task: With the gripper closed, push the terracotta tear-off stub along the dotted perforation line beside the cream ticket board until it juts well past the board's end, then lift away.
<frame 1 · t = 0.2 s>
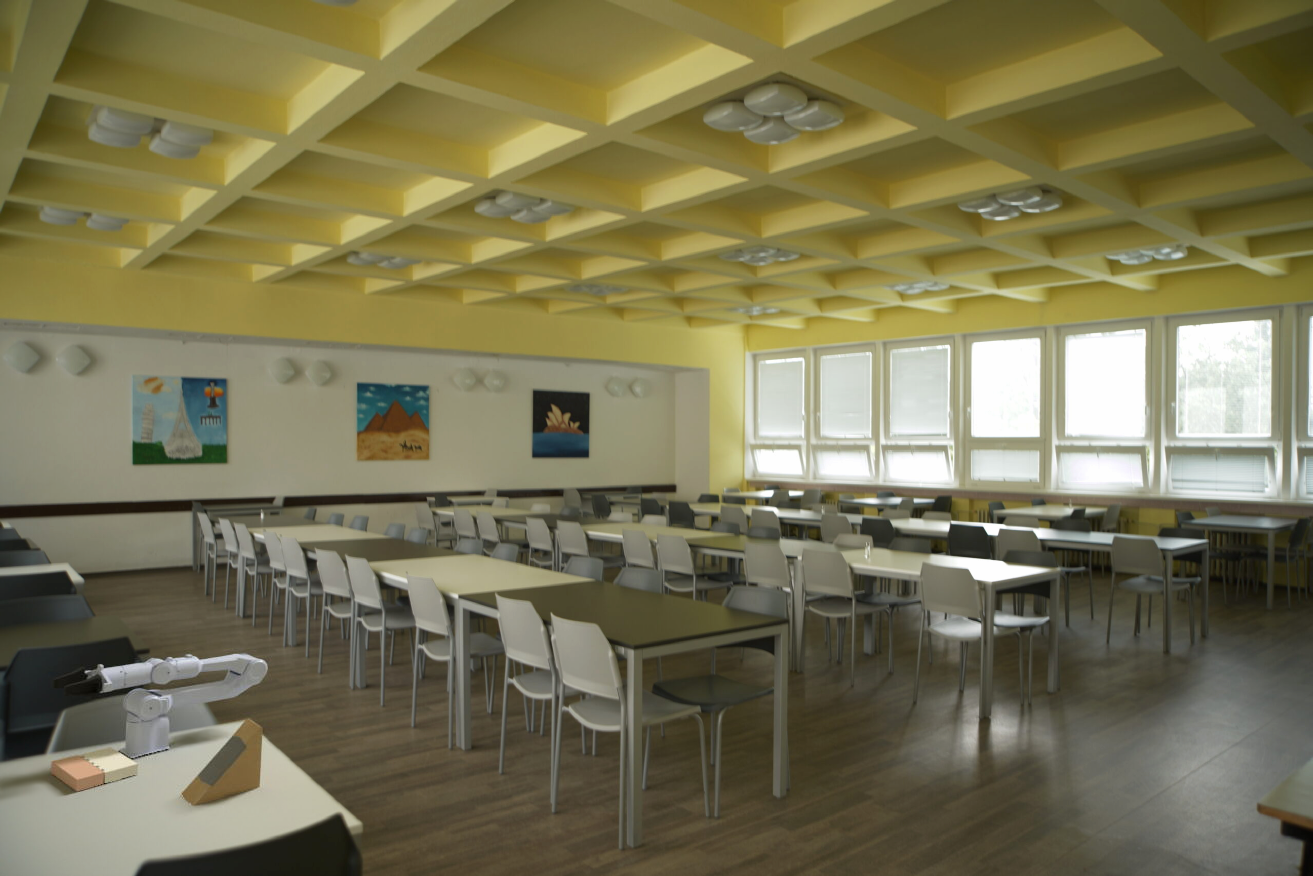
hand: (58, 687, 206), 21 cm above the table, tool horizontal, fingers open, 7 cm apart
sandwich container: (219, 792, 201), on the table
tear-off stub: (77, 772, 204), point 1 cm above the table, slide at 0.0 cm
ticket board: (107, 770, 209), on the table
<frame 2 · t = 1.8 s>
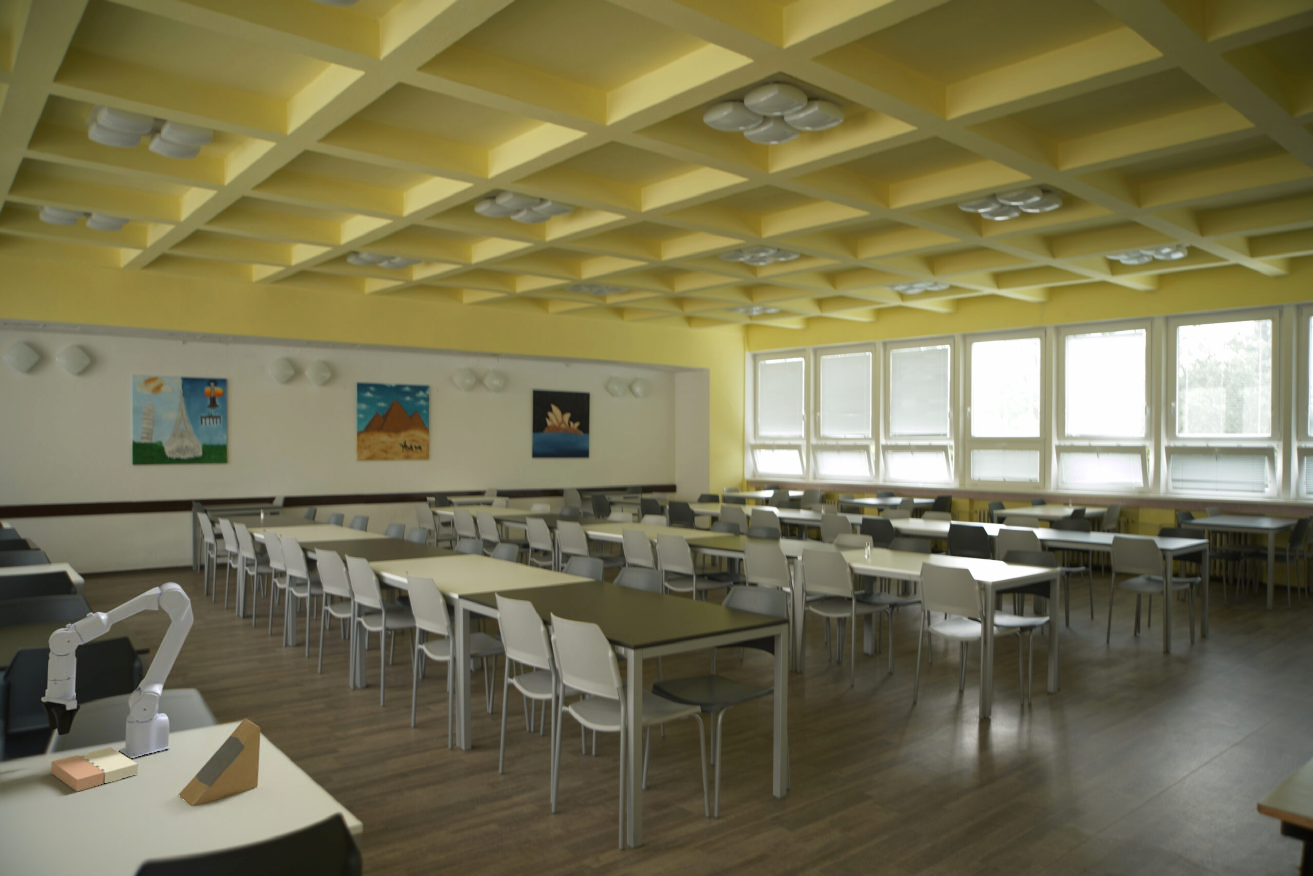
hand: (59, 731, 211), 8 cm above the table, tool pointing down, fingers open, 5 cm apart
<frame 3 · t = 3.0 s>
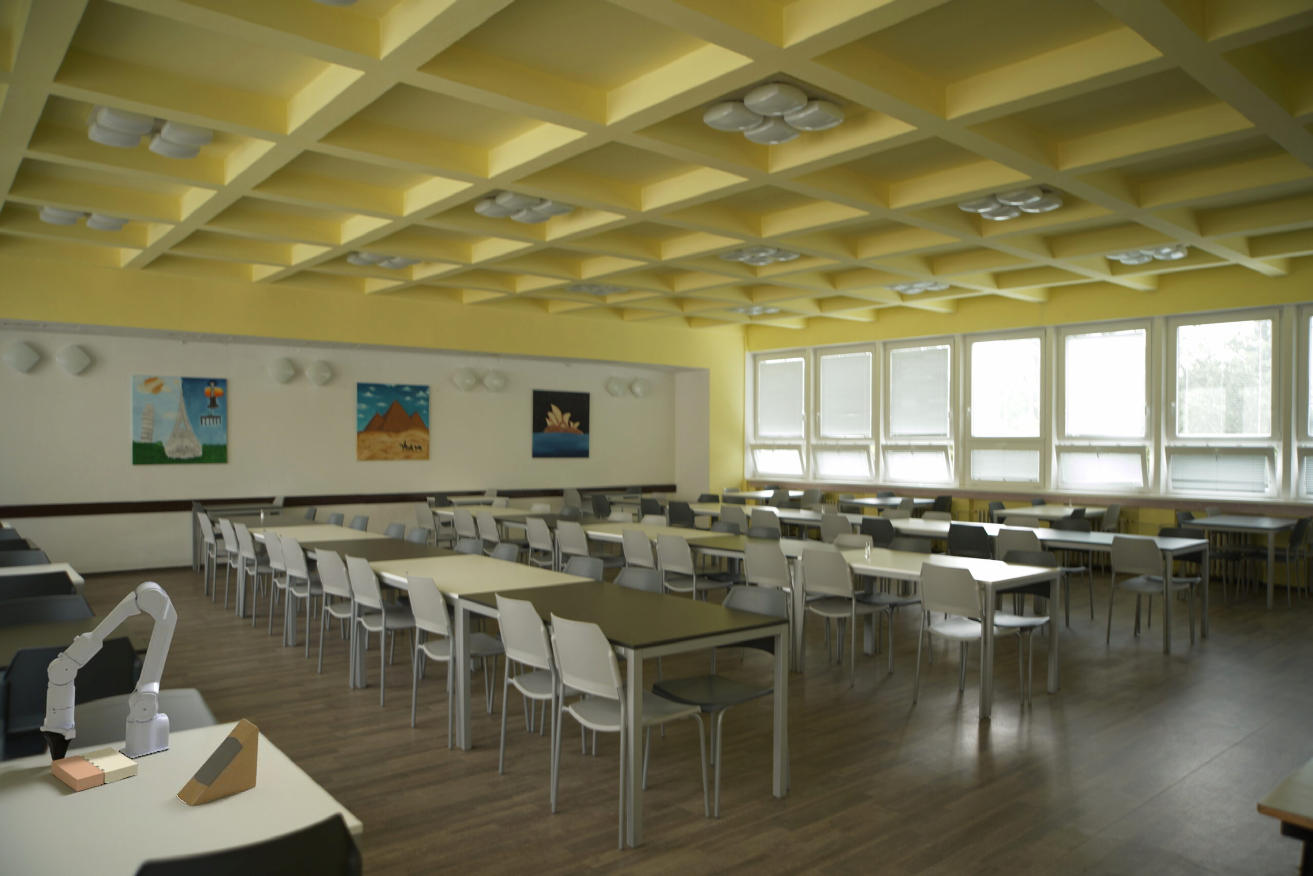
hand: (58, 760, 211), 1 cm above the table, tool pointing down, fingers closed
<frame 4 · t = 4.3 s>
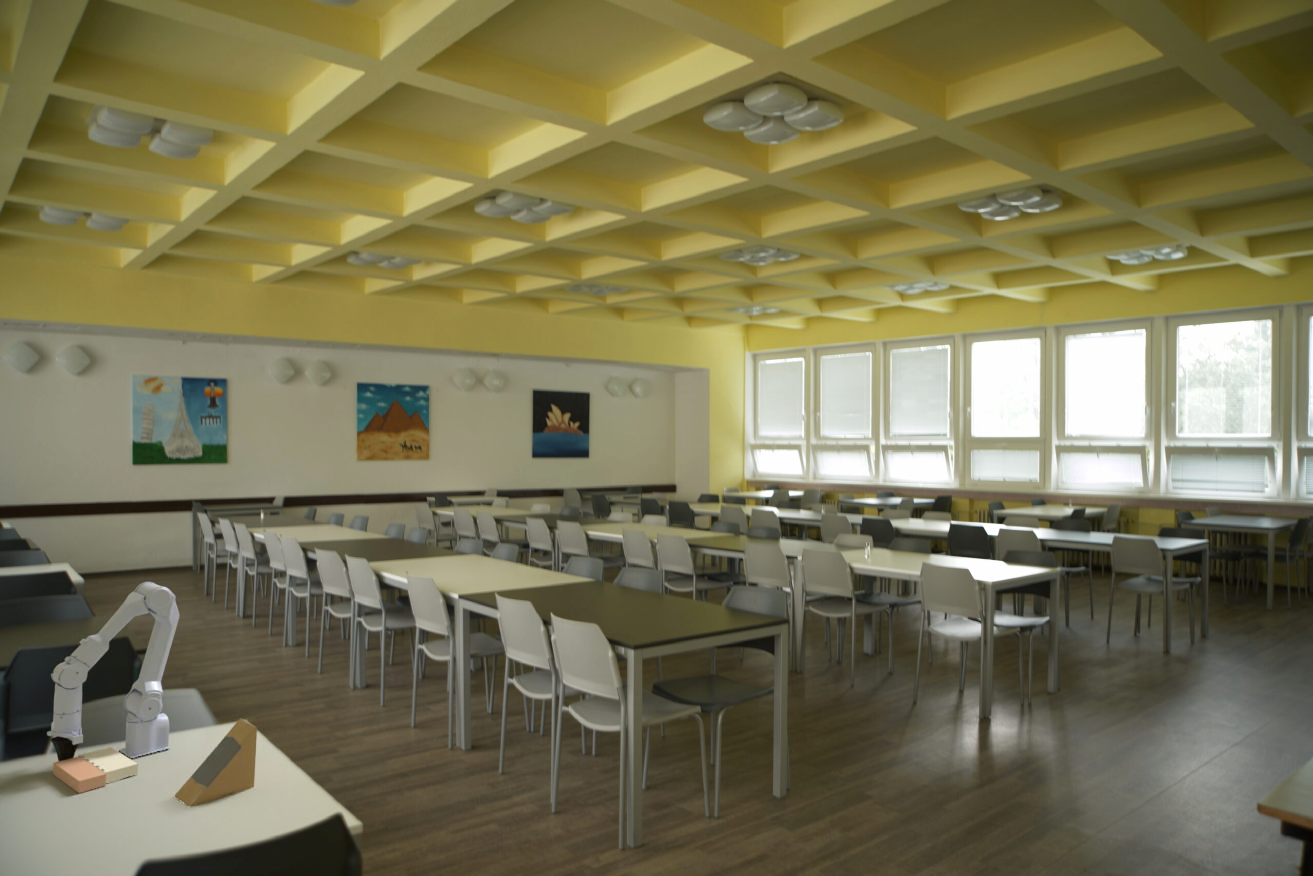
hand: (65, 765, 208), 1 cm above the table, tool pointing down, fingers closed
tear-off stub: (79, 774, 203), point 1 cm above the table, slide at 1.3 cm, touching gripper
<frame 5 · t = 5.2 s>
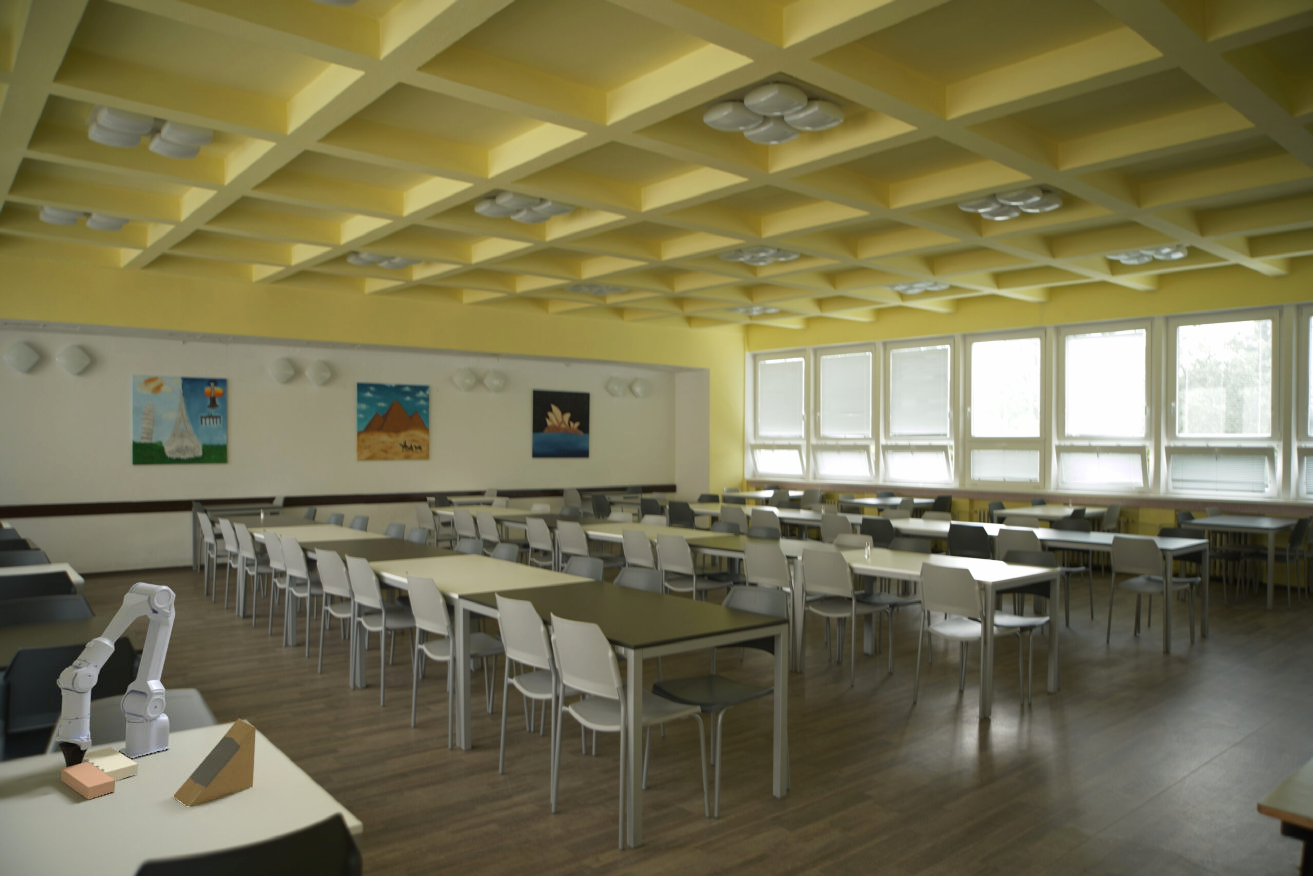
hand: (73, 771, 205), 1 cm above the table, tool pointing down, fingers closed
tear-off stub: (87, 780, 200), point 1 cm above the table, slide at 6.4 cm, touching gripper
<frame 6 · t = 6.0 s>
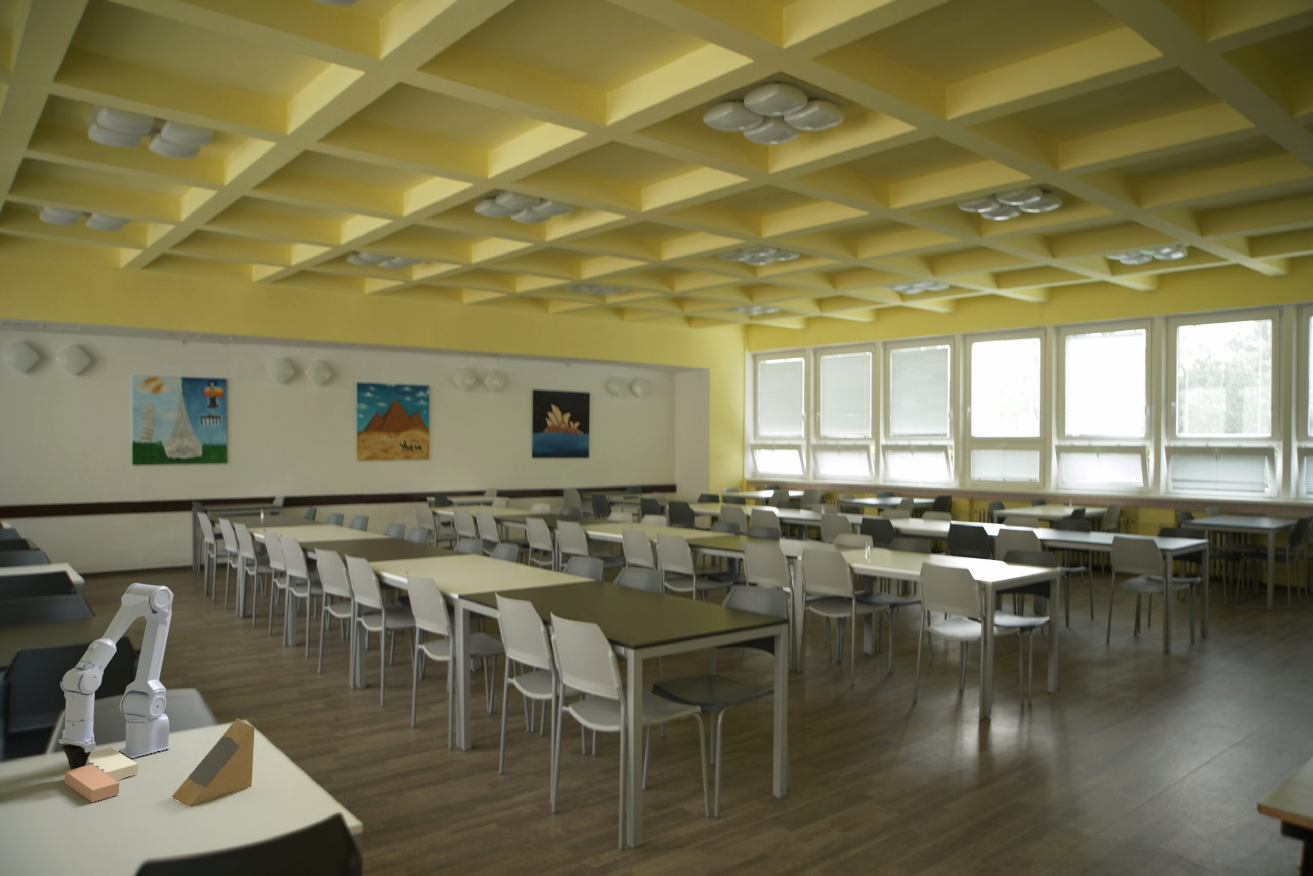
hand: (77, 773, 204), 1 cm above the table, tool pointing down, fingers closed
tear-off stub: (91, 782, 198), point 1 cm above the table, slide at 8.7 cm, touching gripper
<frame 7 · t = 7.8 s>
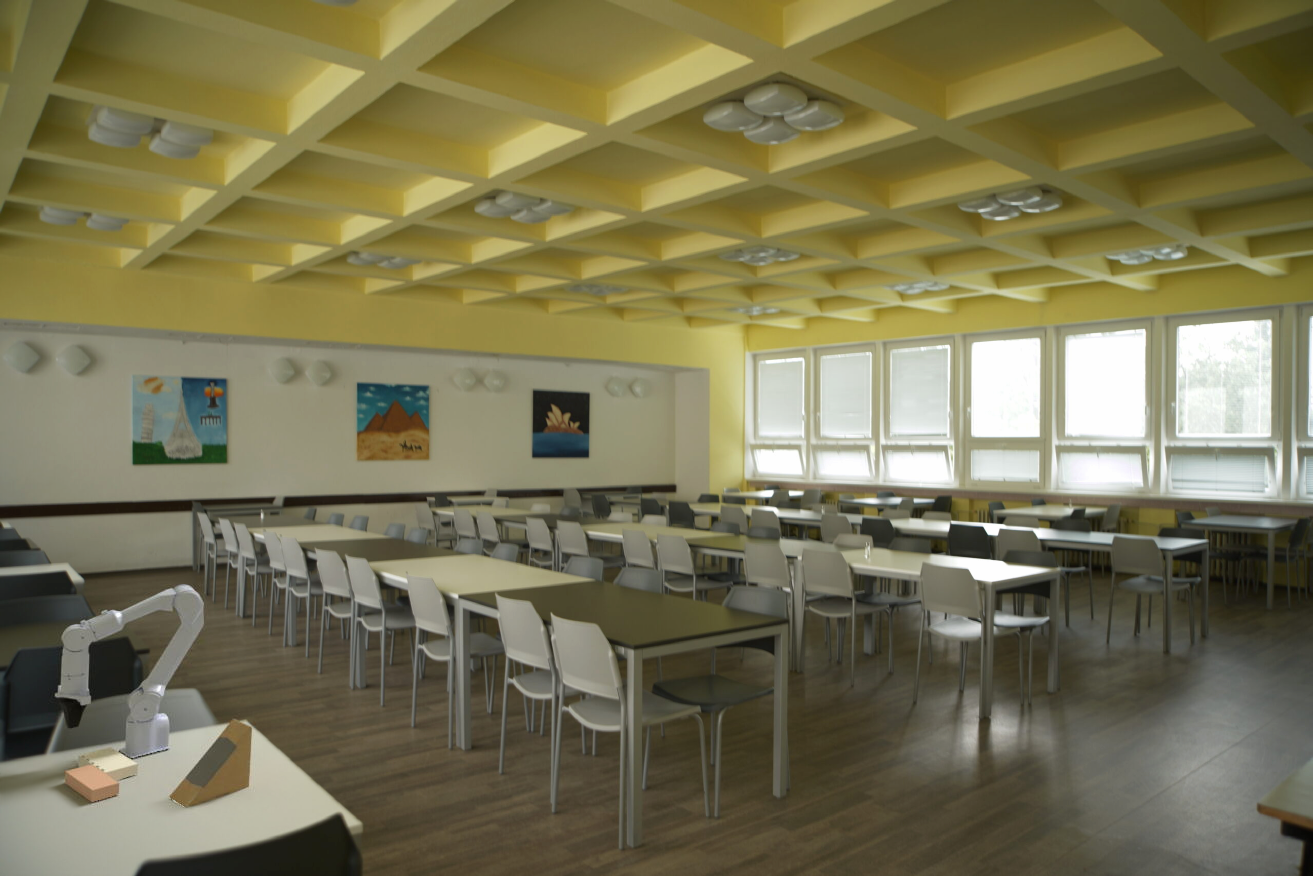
hand: (72, 727, 212), 9 cm above the table, tool pointing down, fingers closed
tear-off stub: (91, 782, 198), point 1 cm above the table, slide at 8.7 cm
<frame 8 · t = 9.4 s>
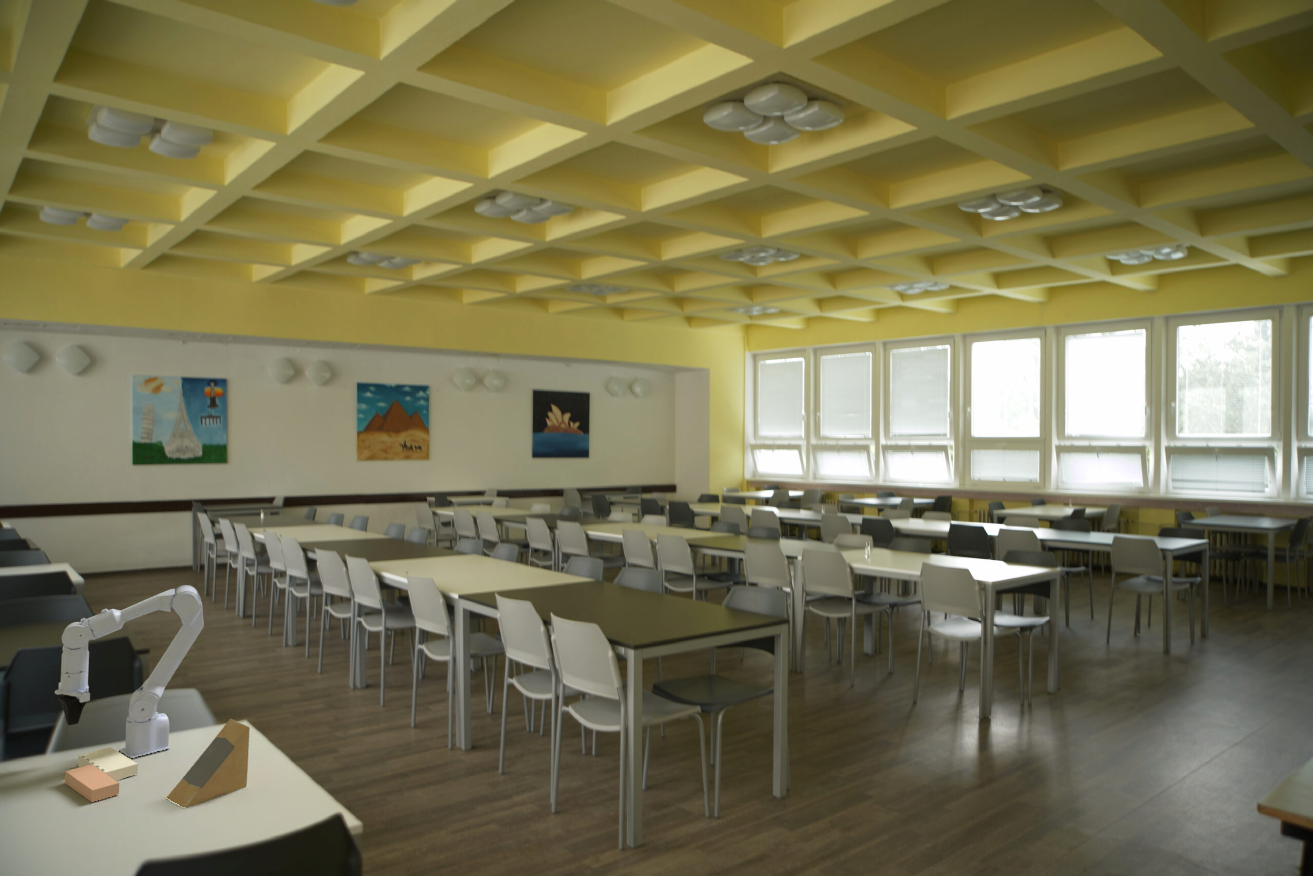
hand: (72, 724, 214), 9 cm above the table, tool pointing down, fingers closed
at the end: tear-off stub slide at 8.7 cm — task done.
